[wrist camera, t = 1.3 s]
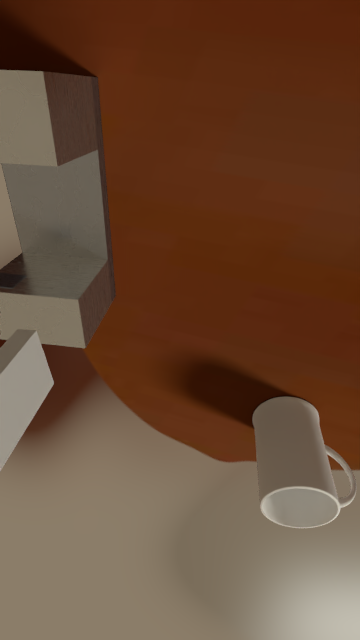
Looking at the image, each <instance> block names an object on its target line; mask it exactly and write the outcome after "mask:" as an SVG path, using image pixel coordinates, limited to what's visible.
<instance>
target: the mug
mask: <svg viewBox="0 0 360 640" xmlns="http://www.w3.org/2000/svg"><path fill="white" fill-rule="evenodd" d="M252 422H253V426H254V429H255V440H256V455H257V469H258V484H259V498H260V499H259V500H260V509H261V512H262V513H263V514H264V516H265V517H267V518H268V519H269V520H271V521H272V522H275V523H277V524H279V525H283V526H287V527H293V528H312V527H317V526H321V525H324V524H327V523H329V522H331V521H332V520H334V519H335V518H336V517H337V515H338V514H339V512H340V508H341V507H345V506H347V505H349V504H350V503H351V502H352V501H353V499H354V497H355V494H356V481H355V477H354V475H353V472H352V470H351V469H350V467H349V465H348V464H347V463H346V461H345V460H344V459H343V458H342V457H341V456H340V455H339V454H338V453H337V452H335V451H334V450H333V449H331V448H330V447H328V446H326V445H324V442H323V438H322V434H321V430H320V425H319V414H318V412H317V410H316V409H315V407H314V406H313V405H312V404H310V403H309V402H307V401H305V400H303V399H300V398H296V397H287V396H285V397H276V398H272V399H269V400H267V401H265V402H263V403H262V404H260V405H259V406H258V407H257V408H256V410H255V411H254V413H253V417H252ZM327 454H328V455H329V456H331V457H332V458H334V459H335V460H336V461H337V462H338V463H339V464H340V465H341V466H342V467H343V469H344V470H345V472H346V473H347V475H348V477H349V480H350V485H351V489H350V492H349V494H348V495H347V496H345V497H342V498H338V495H337V491H336V488H335V484H334V480H333V476H332V473H331V468H330V465H329V461H328V457H327Z"/></svg>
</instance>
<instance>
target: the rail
mask: <svg viewBox="0 0 360 640" xmlns="http://www.w3.org/2000/svg"><path fill="white" fill-rule="evenodd" d="M0 163H1V164H2V168H3V173H4V177H5V181H6V185H7V190H8V194H9V198H10V202H11V206H12V211H13V215H14V219H15V223H16V227H17V231H18V236H19V240H20V244H21V248H22V253H21V254H20V255H19V256H18V257H16V258H15V259H14V260H12V261H11V262H10V263H8V264H7V265H6V266H4V267H3V268H2V269H1V270H0V339H5V340H8V339H9V338H10V337H11V336H12V335H13V334H14V332H15V331H16V330H17V329H23V330H36V331H37V334H38V337H39V340H40V343H42V344H51V345H61V346H70V347H79V348H86V347H87V345H88V343H89V341H90V340H91V338H92V336H93V334H94V333H95V331H96V329H97V327H98V326H99V324H100V322H101V320H102V319H103V317H104V315H105V314H106V312H107V310H108V308H109V307H110V305H111V303H112V301H113V300H114V298H115V296H116V295H115V282H114V270H113V258H112V246H111V234H110V222H109V210H108V198H107V186H106V174H105V161H104V149H103V137H102V125H101V113H100V101H99V89H98V77H89V76H80V75H71V74H62V73H53V72H44V71H20V70H0Z"/></svg>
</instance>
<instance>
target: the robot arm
mask: <svg viewBox="0 0 360 640" xmlns="http://www.w3.org/2000/svg"><path fill="white" fill-rule="evenodd" d="M53 384H54V382H53V379H52V376H51V373H50V370H49V367H48V364H47V361H46V358H45V355H44V352H43V349H42V346H41V343H40V340H39V337H38V334H37V331H36V330H23V329H17V330H16V331H15V332H14V334H13V335H12V336H11V337H10V338H9V339H8V340H7V341H6V342H5V344H4V345H3V346H2V347H1V348H0V471H1V469H2V467H3V466H4V464H5V462H6V461H7V459H8V458H9V456H10V454H11V453H12V451H13V449H14V448H15V446H16V444H17V443H18V441H19V440H20V438H21V436H22V435H23V433H24V431H25V430H26V428H27V427H28V425H29V423H30V422H31V420H32V418H33V417H34V415H35V414H36V412H37V410H38V409H39V407H40V405H41V404H42V402H43V401H44V399H45V397H46V396H47V394H48V392H49V391H50V389H51V387H52V386H53Z"/></svg>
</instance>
